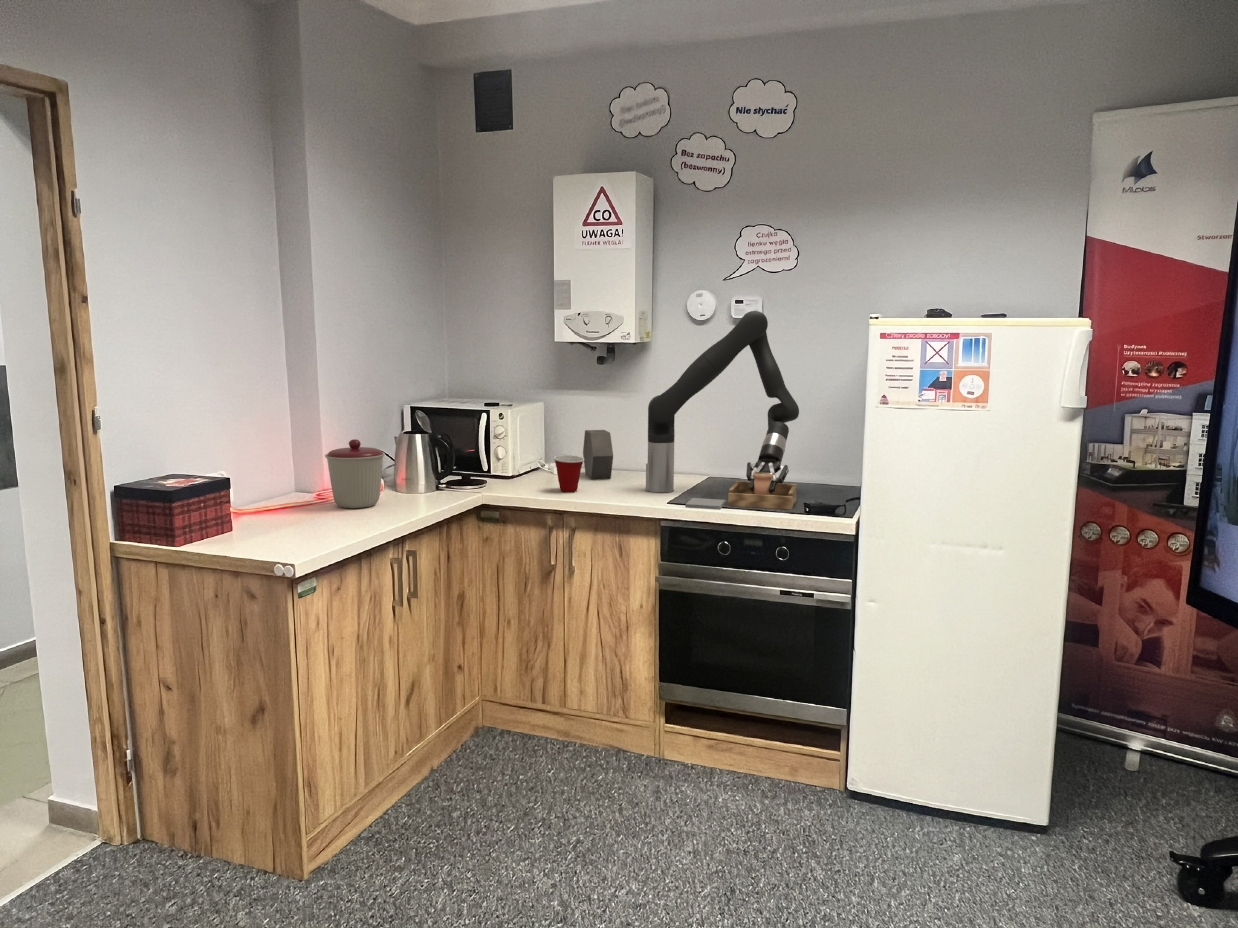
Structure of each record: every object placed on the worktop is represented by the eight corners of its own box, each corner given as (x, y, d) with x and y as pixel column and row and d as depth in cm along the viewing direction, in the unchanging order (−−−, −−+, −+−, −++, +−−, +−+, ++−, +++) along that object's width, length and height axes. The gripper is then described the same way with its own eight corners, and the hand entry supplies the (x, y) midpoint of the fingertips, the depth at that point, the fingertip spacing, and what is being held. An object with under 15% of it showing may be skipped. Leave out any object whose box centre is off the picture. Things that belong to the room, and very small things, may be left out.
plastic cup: (566, 495, 296) (566, 460, 294) (547, 490, 304) (546, 456, 302) (591, 491, 303) (591, 457, 301) (571, 487, 311) (571, 454, 309)
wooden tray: (728, 505, 279) (728, 488, 278) (735, 497, 294) (736, 480, 293) (791, 509, 273) (792, 492, 273) (795, 500, 289) (796, 484, 288)
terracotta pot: (750, 504, 281) (751, 474, 279) (753, 501, 287) (754, 471, 285) (770, 506, 279) (771, 475, 277) (773, 502, 285) (774, 472, 284)
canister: (396, 501, 282) (394, 437, 279) (368, 512, 265) (366, 443, 262) (346, 499, 286) (343, 435, 283) (315, 509, 269) (312, 441, 266)
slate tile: (685, 507, 276) (685, 504, 276) (692, 500, 287) (692, 498, 287) (719, 509, 273) (720, 506, 273) (725, 502, 284) (725, 499, 284)
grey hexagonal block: (615, 469, 323) (608, 419, 331) (594, 469, 321) (588, 420, 329) (606, 487, 337) (600, 439, 346) (587, 488, 336) (581, 440, 344)
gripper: (749, 441, 290) (737, 482, 281) (792, 444, 284) (780, 486, 275) (754, 455, 295) (741, 496, 286) (795, 458, 289) (784, 499, 280)
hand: (761, 490), depth 281 cm, fingers closed on terracotta pot, 5 cm apart
